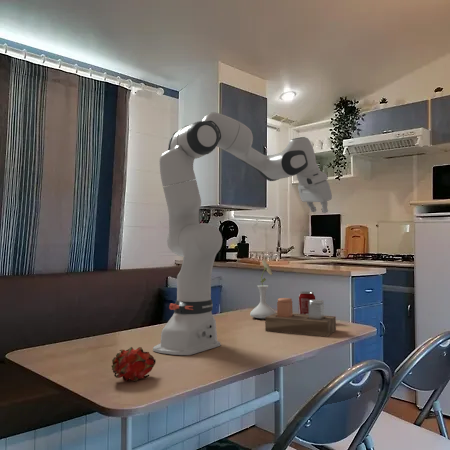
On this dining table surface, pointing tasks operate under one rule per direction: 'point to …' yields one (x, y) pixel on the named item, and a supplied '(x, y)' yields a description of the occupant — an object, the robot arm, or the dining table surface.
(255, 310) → the flower in vase
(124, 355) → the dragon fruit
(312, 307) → the metal plunger
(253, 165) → the robot arm
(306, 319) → the walnut block
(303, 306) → the soda can
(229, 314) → the dining table surface
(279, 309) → the terracotta plunger
